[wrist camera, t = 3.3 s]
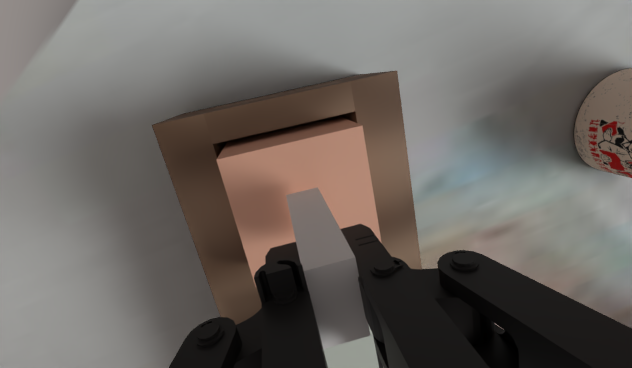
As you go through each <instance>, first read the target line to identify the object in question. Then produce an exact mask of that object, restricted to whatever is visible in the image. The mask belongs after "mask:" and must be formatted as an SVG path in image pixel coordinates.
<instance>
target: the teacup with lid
mask: <svg viewBox="0 0 632 368" xmlns="http://www.w3.org/2000/svg"><path fill="white" fill-rule="evenodd" d="M574 139H575V145H576V148H577V151H578V153H579V155H580V156H581V158H582V159H583V160H584V161H585V162H586V163H587V164H588V165H590V166H591V167H593V168H596V169H599V170H602V171H606V172H610V173H614V174H618V175H622V176H626V177H630V178H632V68H630V69H624V70H621V71H618V72H616V73H614V74H611V75H610V76H608V77H606V78H605V79H604V80H602V81H601V82H600V83H599V84H598V85H596V86H595V87H594V88H593V90H592V91H591V92H590V93H589V94H588V96H587V97H586V99H585V100H584V102H583V104H582V105H581V108H580V110H579V112H578V115H577V118H576V122H575V129H574Z"/></svg>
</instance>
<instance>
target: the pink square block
mask: <svg viewBox="0 0 632 368" xmlns="http://www.w3.org/2000/svg"><path fill="white" fill-rule="evenodd" d="M216 160H217V164H218V167H219V170H220V173H221V177H222V180H223V183H224V186H225V190H226V193H227V196H228V199H229V202H230V206H231V209H232V212H233V215H234V219H235V222H236V225H237V228H238V232H239V235H240V238H241V241H242V245H243V248H244V251H245V254H246V257H247V261H248V264H249V267H250V270H251V274H252V277H253V280H254V275H255V273H256V271H257V270H258V269H259V268H260V267H261V266H263V265H265V256H266V255H267V253H268V251H269V250H270V248H273V247H277V246H281V245H285V244H288V243H292V242H296V239H295V235H294V230H293V226H292V221H291V216H290V212H289V207H288V202H287V198H286V195H288V194H292V193H296V192H300V191H305V190H309V189H313V188H317V187H318V189H319V191H320V192H321V194H322V196H323V198H324V200H325V202H326V204H327V205H328V207H329V209H330V211H331V213H332V215H333V217H334V218H335V220H336V222H337V224H338V226H339V228H340V229H342V228H346V227H350V226H354V225H357V224H363V225H365V226H367V227H369V228H371V230H372V231H373V232H374V234H375V236H377V238H378V239H379V241H380V242H381V236H380V230H379V224H378V218H377V212H376V205H375V199H374V193H373V187H372V181H371V175H370V169H369V163H368V156H367V150H366V144H365V138H364V132H363V126H362V125H360V124H358V123H355V122H353V121H350V120H348V119H345V118H343V117H341V116H338V117H334V118H329V119H325V120H321V121H316V122H312V123H308V124H303V125H299V126H295V127H290V128H286V129H282V130H277V131H273V132H269V133H264V134H260V135H256V136H251V137H247V138H242V139H238V140H234V141H229V142H227V143H226V145H225V146H224V148H223V150H222V151H221V153H220V155H219V156H218V158H217V159H216ZM381 243H382V242H381ZM254 283H255V281H254ZM255 287H256V284H255Z"/></svg>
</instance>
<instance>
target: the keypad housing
mask: <svg viewBox="0 0 632 368" xmlns="http://www.w3.org/2000/svg"><path fill="white" fill-rule="evenodd" d="M338 116H341V117H343V118H345V119H348V120H350V121H353V122H355V123H358V124H360V125H362V126H363V132H364V138H365V144H366V150H367V156H368V163H369V169H370V175H371V181H372V187H373V193H374V199H375V205H376V212H377V218H378V224H379V230H380V236H381V242H382V244H383V246H384V247H385V248H386V250H387V251H388V252H389V254H390V255H391V256H392V257H395V258H399V259H401V260H403V261H404V262H405V263H406V264H407V265H408V266H409V267H410V268H411V269H422V267H421V259H420V251H419V243H418V235H417V227H416V219H415V211H414V203H413V195H412V187H411V179H410V171H409V163H408V155H407V147H406V139H405V131H404V123H403V115H402V107H401V99H400V91H399V83H398V75H397V71H390V72H380V73H370V74H360V75H356V76H351V77H347V78H342V79H338V80H333V81H329V82H324V83H320V84H315V85H311V86H306V87H302V88H297V89H293V90H288V91H284V92H279V93H274V94H270V95H265V96H261V97H256V98H252V99H247V100H243V101H238V102H234V103H229V104H225V105H220V106H216V107H211V108H207V109H202V110H198V111H193V112H189V113H184V114H181V115H178V116H176V117H173V118H170V119H167V120H165V121H162V122H159V123H157V124H154V125H152V127H153V130H154V132H155V135H156V138H157V141H158V143H159V146H160V149H161V152H162V155H163V157H164V160H165V163H166V166H167V169H168V171H169V174H170V177H171V180H172V182H173V185H174V188H175V191H176V194H177V196H178V199H179V202H180V205H181V208H182V210H183V213H184V216H185V219H186V221H187V224H188V227H189V230H190V233H191V235H192V238H193V241H194V244H195V247H196V249H197V252H198V255H199V258H200V260H201V263H202V266H203V269H204V272H205V274H206V277H207V280H208V283H209V286H210V288H211V291H212V294H213V297H214V300H215V302H216V305H217V308H218V311H219V313H220V316H221V317H228V318H230V319H232V320H234V322H235V324H236V325H237V324H239V323H241V322H243V321H245V320H247V319H248V318H250V317H252V316H253V315H255V314H256V313H257V312H258V311H259V310H260V309H261V308H262V306H261V300H260V297H259V294H258V290H257V287H255V283H254V280H253V277H252V274H251V270H250V267H249V264H248V261H247V257H246V254H245V251H244V248H243V245H242V241H241V238H240V235H239V232H238V228H237V225H236V222H235V219H234V215H233V212H232V209H231V206H230V202H229V199H228V196H227V193H226V190H225V186H224V183H223V180H222V177H221V173H220V170H219V167H218V164H217V160H216V159H217V158H218V156H219V155H220V153H221V151H222V150H223V148H224V146H225V145H226V143H227V142H229V141H234V140H238V139H242V138H247V137H251V136H256V135H260V134H264V133H269V132H273V131H277V130H282V129H286V128H290V127H295V126H299V125H303V124H308V123H312V122H316V121H321V120H325V119H329V118H334V117H338Z"/></svg>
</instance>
